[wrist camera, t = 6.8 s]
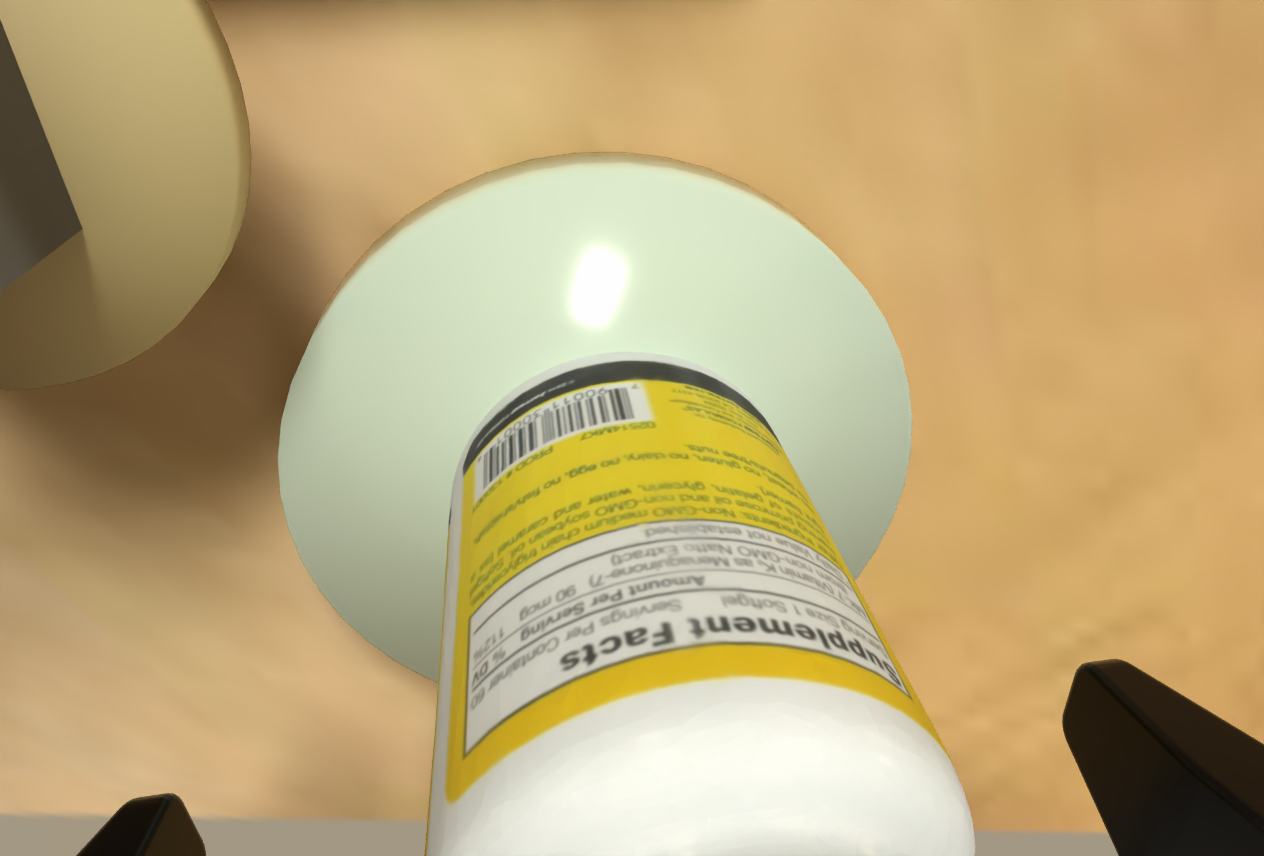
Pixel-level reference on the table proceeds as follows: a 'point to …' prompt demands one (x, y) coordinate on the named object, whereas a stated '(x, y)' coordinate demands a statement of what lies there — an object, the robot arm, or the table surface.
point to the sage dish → (560, 332)
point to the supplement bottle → (664, 641)
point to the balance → (111, 179)
